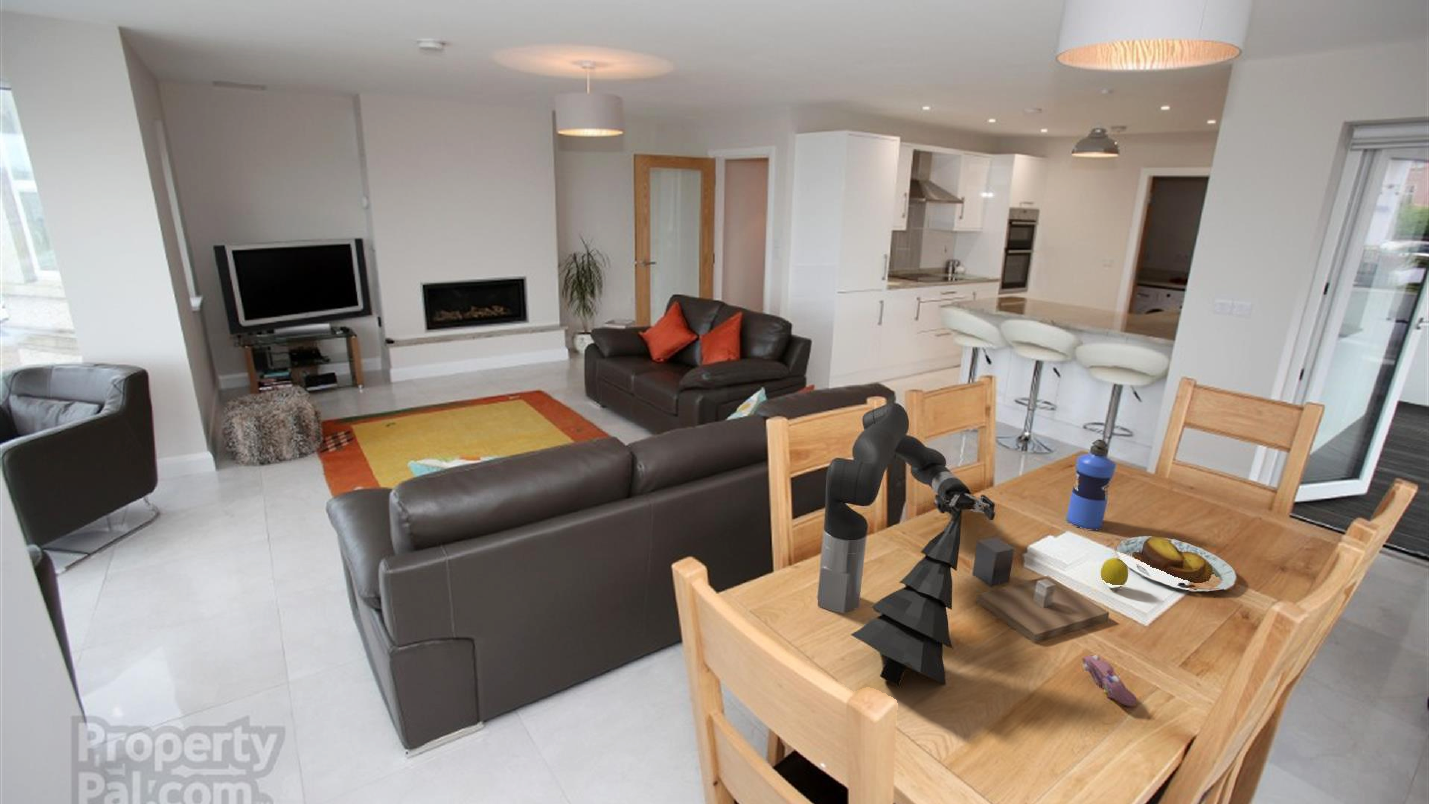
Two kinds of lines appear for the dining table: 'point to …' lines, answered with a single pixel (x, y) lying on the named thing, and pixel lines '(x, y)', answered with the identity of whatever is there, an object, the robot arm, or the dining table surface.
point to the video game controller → (1108, 680)
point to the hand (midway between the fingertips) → (976, 517)
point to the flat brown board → (1042, 608)
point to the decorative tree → (918, 612)
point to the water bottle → (1091, 487)
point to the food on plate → (1179, 560)
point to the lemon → (1114, 571)
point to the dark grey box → (993, 561)
